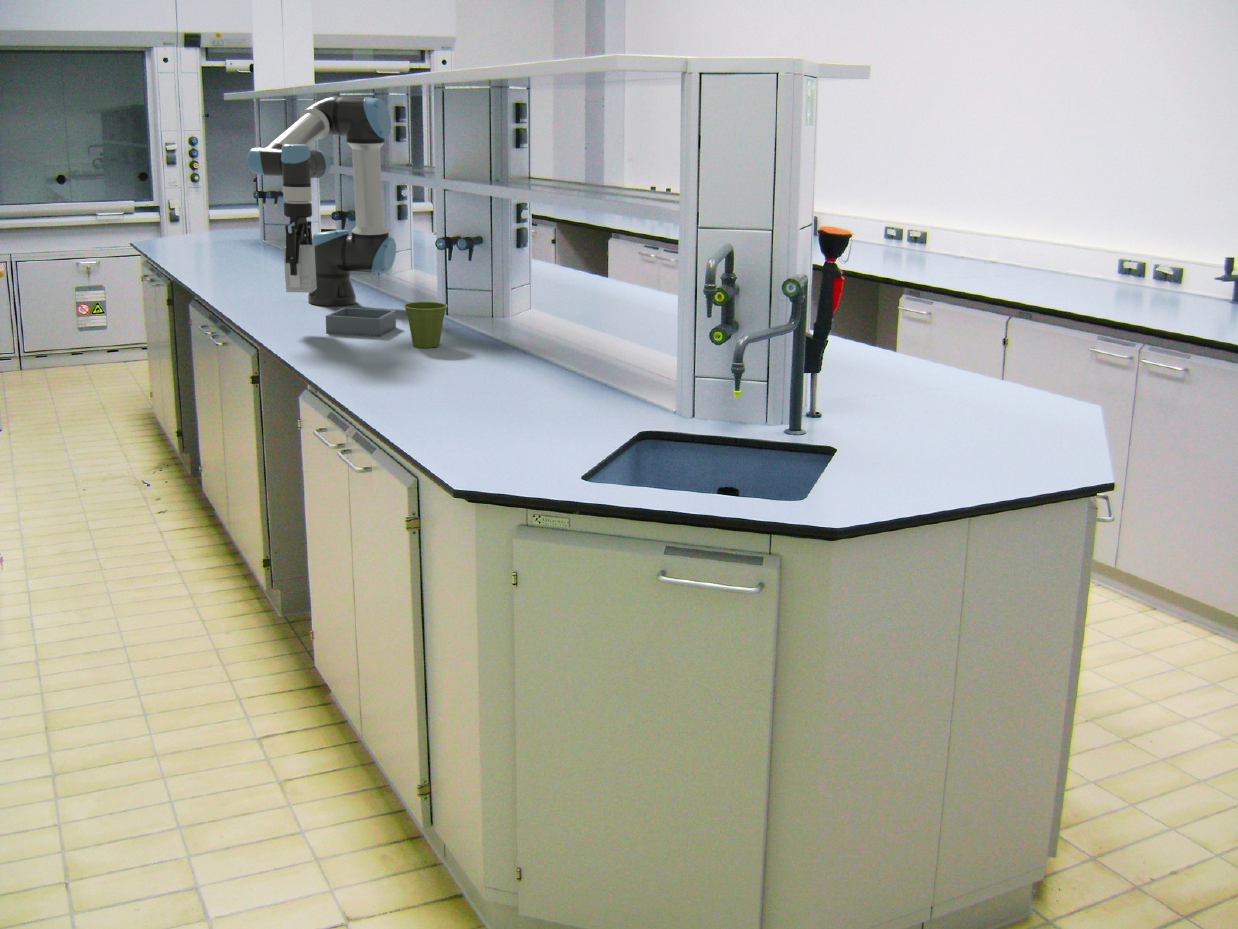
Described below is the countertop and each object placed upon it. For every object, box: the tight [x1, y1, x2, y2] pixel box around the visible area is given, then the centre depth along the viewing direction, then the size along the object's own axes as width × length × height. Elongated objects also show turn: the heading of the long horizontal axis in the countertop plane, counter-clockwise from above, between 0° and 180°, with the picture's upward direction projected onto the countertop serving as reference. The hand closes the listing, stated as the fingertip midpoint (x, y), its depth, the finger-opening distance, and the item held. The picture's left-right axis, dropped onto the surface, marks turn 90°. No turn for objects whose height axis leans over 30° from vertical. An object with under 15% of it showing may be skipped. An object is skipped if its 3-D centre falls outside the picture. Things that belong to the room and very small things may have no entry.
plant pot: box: [402, 301, 449, 349], centre depth 319 cm, size 12×12×11 cm
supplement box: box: [282, 245, 317, 294], centre depth 329 cm, size 7×7×13 cm
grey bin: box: [325, 307, 397, 337], centre depth 338 cm, size 16×16×5 cm
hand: (301, 284), depth 331 cm, fingers closed on supplement box, 8 cm apart
